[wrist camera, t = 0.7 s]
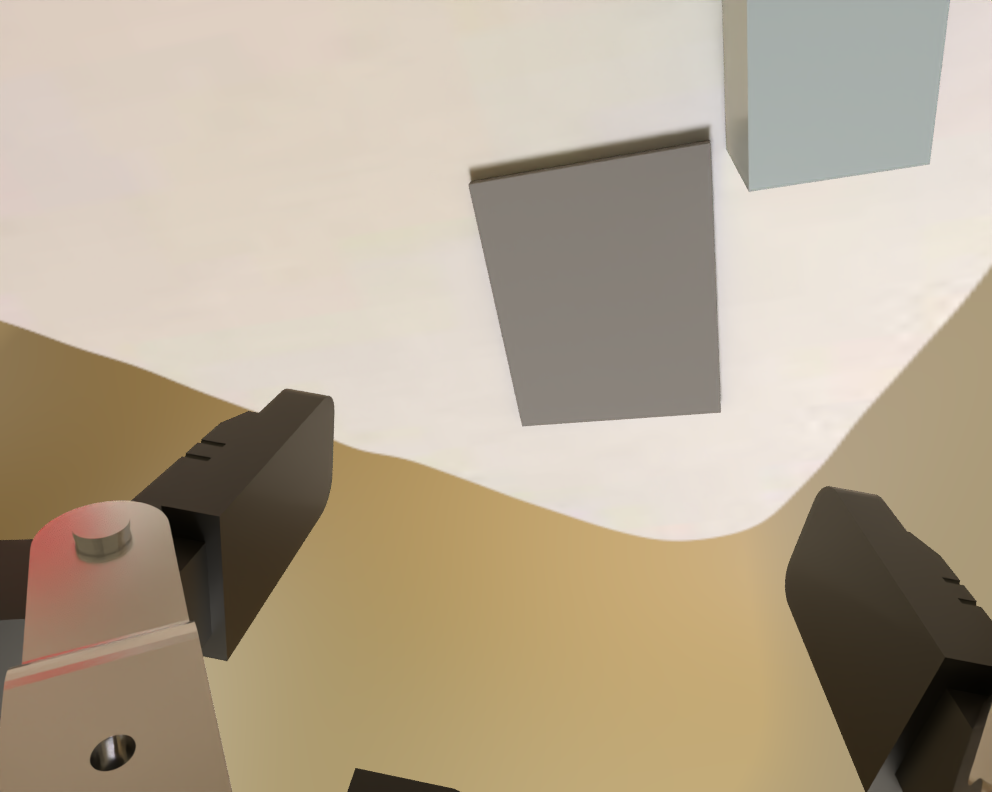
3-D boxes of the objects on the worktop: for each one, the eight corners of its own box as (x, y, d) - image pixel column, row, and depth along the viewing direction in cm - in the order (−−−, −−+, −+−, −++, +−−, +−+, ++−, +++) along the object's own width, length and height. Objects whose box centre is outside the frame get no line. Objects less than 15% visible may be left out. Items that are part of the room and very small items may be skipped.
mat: (471, 181, 31) (468, 184, 31) (709, 140, 29) (710, 142, 28) (523, 420, 38) (522, 426, 38) (719, 406, 36) (720, 412, 35)
